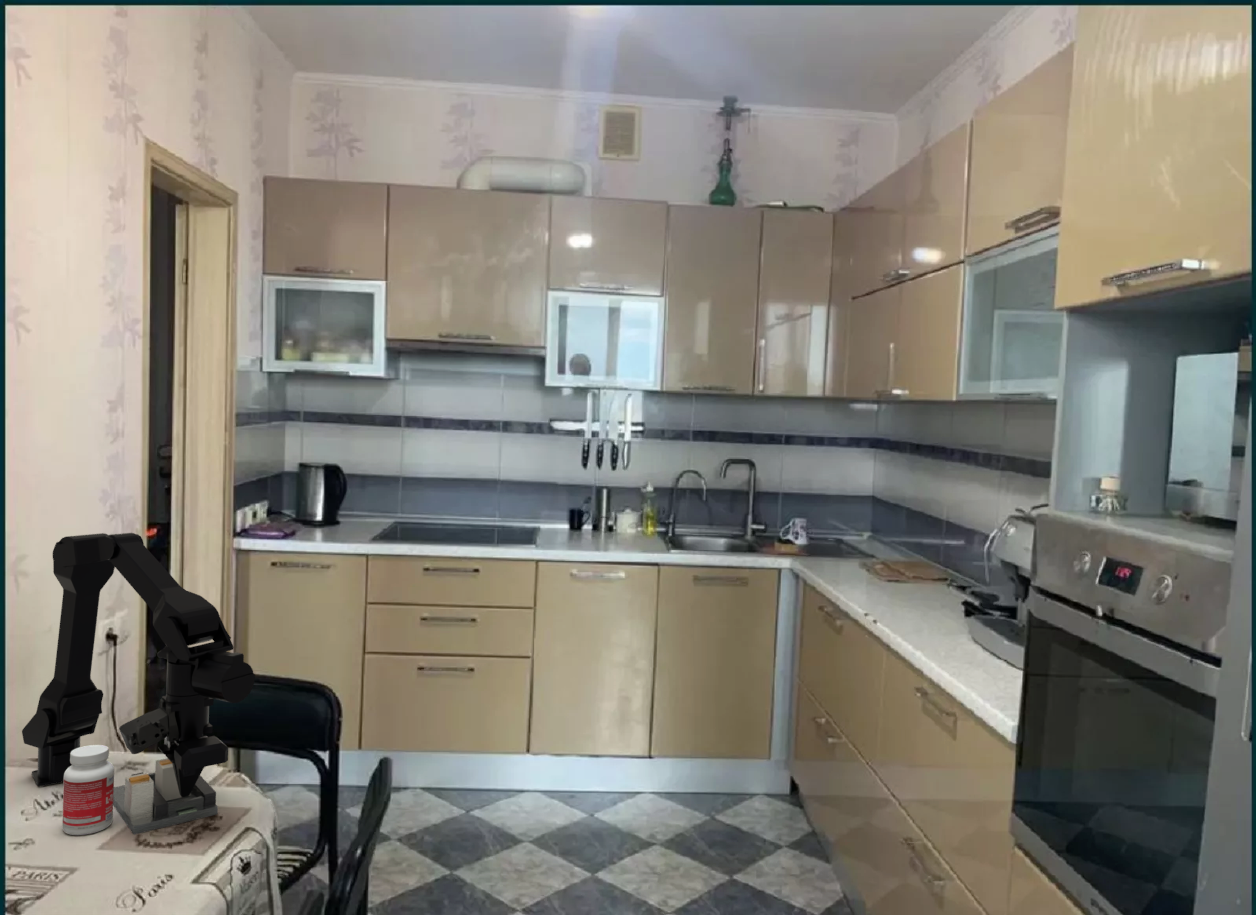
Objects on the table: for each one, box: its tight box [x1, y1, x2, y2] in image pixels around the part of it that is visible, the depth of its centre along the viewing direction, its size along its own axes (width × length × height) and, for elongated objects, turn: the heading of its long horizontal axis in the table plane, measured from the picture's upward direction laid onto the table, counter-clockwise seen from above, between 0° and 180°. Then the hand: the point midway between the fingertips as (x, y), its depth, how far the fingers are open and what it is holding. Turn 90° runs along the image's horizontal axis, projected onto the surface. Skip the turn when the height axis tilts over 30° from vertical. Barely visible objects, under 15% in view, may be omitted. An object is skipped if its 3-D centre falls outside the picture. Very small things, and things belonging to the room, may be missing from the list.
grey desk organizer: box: [113, 772, 219, 835], centre depth 134 cm, size 16×11×6 cm
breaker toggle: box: [154, 757, 191, 801], centre depth 134 cm, size 4×4×5 cm
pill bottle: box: [61, 744, 115, 836], centre depth 126 cm, size 6×6×11 cm
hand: (184, 795), depth 130 cm, fingers closed
